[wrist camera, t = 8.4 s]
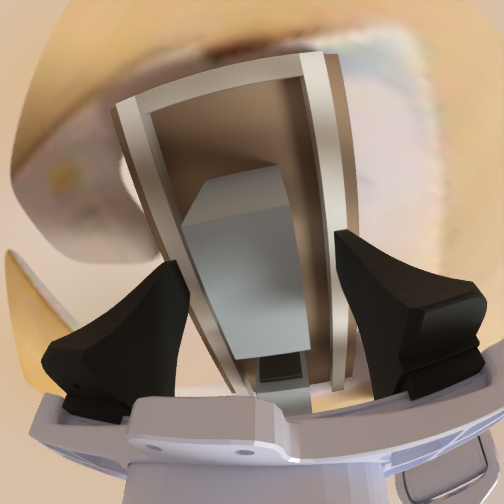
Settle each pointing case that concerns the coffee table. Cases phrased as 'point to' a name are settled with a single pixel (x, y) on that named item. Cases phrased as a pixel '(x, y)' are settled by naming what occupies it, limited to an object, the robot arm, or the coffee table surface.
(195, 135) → the raised edge track
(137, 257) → the coffee table surface
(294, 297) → the gripped grey block
